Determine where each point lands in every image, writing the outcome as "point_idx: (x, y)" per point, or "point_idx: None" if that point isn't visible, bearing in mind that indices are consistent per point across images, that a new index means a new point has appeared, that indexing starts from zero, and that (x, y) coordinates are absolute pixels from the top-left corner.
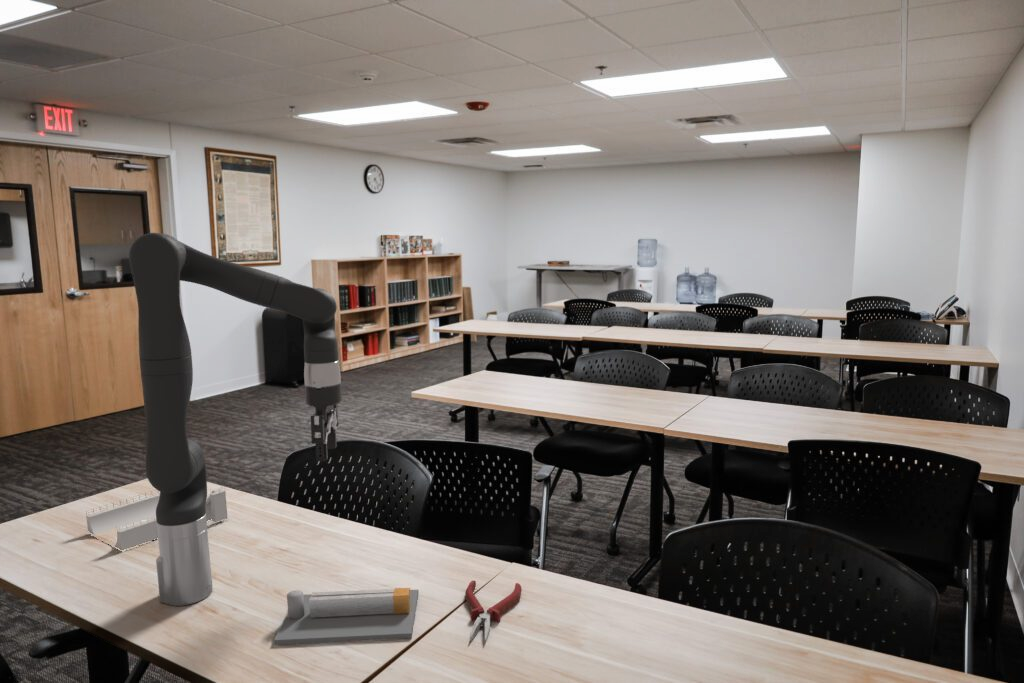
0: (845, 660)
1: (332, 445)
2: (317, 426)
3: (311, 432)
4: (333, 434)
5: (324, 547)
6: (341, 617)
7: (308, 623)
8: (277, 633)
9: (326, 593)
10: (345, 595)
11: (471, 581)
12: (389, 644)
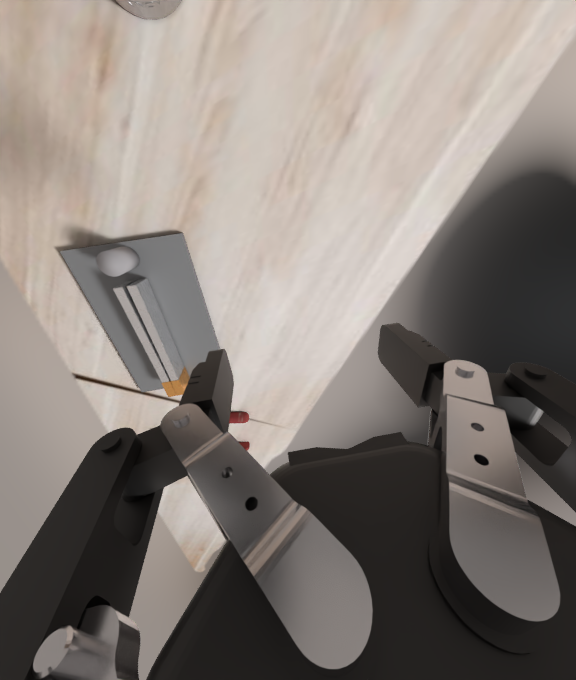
0: (199, 558)
1: (386, 353)
2: (88, 600)
3: (41, 529)
4: (414, 394)
5: (351, 210)
6: None
7: (116, 282)
8: (75, 249)
9: (140, 305)
10: (144, 332)
11: (243, 420)
12: (126, 373)
